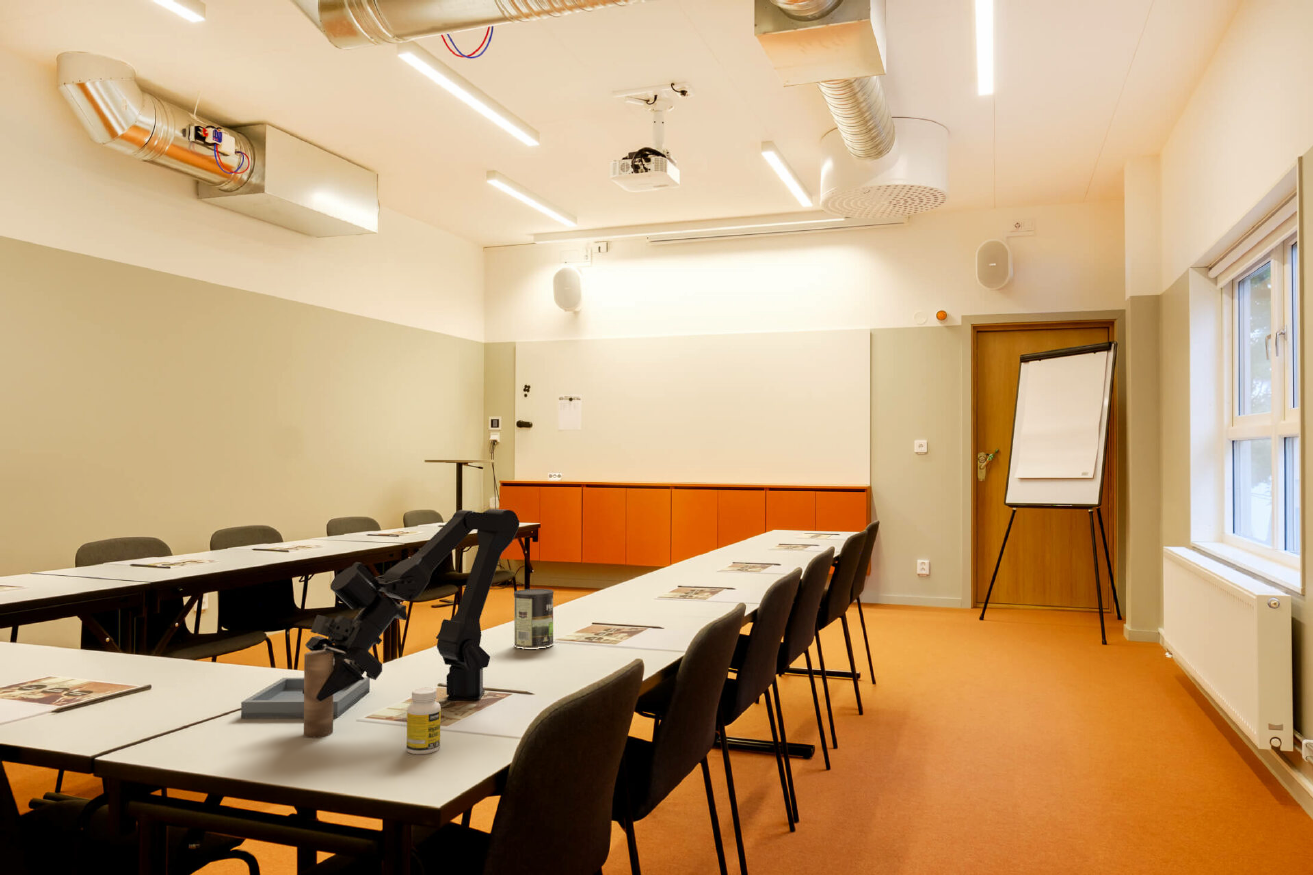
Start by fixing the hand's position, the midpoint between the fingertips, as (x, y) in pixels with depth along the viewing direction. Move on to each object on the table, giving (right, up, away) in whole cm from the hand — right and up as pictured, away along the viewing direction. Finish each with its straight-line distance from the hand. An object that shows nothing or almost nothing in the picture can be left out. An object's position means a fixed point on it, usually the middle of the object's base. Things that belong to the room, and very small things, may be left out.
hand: (311, 697), depth 149 cm
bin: (-8, -7, +19) cm, 22 cm away
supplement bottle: (+22, -7, -8) cm, 24 cm away
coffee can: (+29, -9, +72) cm, 78 cm away
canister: (+1, -7, +1) cm, 7 cm away
